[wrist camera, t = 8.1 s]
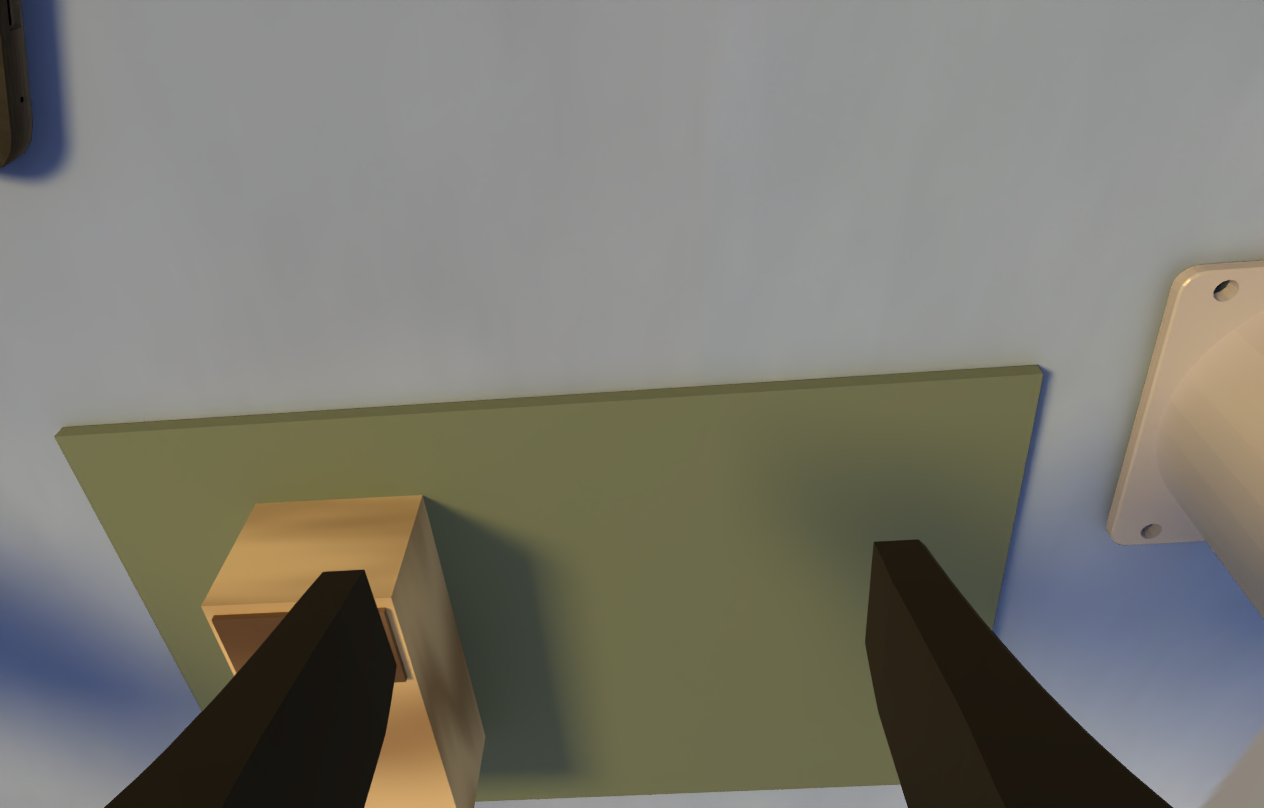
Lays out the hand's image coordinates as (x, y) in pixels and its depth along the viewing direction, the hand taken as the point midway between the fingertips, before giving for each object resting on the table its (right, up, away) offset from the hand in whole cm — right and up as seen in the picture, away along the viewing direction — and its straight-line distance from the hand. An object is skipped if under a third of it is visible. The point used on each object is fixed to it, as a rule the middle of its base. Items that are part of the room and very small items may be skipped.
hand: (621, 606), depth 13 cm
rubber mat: (-2, -3, +14) cm, 14 cm away
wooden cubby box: (-7, -4, +13) cm, 16 cm away
